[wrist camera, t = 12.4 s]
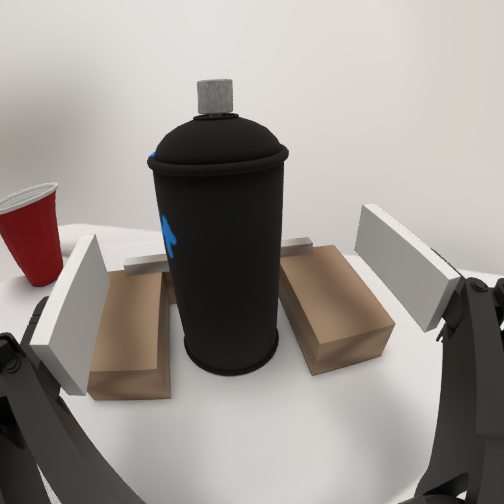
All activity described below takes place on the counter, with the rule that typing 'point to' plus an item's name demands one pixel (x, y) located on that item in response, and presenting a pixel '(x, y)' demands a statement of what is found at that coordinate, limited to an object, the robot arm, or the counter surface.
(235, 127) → the aerosol can
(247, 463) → the counter surface
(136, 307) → the cutout stand
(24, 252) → the plastic cup
